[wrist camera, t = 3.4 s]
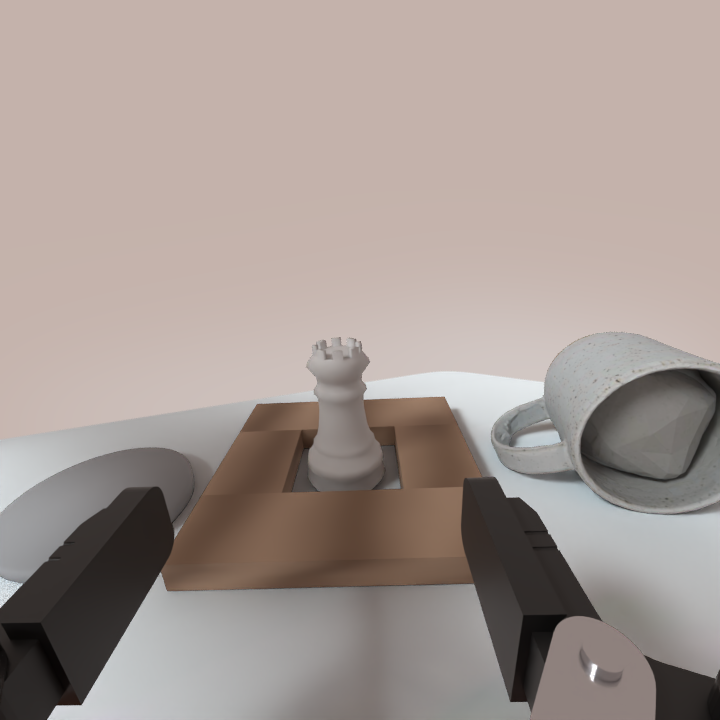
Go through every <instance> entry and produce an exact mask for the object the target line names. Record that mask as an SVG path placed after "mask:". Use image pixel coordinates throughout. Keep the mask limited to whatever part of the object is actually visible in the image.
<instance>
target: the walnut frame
mask: <svg viewBox="0 0 720 720" xmlns="http://www.w3.org/2000/svg"><path fill="white" fill-rule="evenodd" d="M364 409H365V414H366V419H367V424H368V426H369V429H370V430H371V431H372V432H373V433H374V437H375V439H376V440H377V441H378V442H379V443H380V446H383V445H395V450H396V457H397V464H398V472H399V479H400V486H401V489H383V490H352V491H321V492H292V488H293V485H294V481H295V477H296V474H297V470H298V467H299V463H300V459H301V456H302V452H303V449H304V448H311V447H312V445H313V443H314V438H315V436H316V435H317V432H318V427H319V402H299V403H273V404H257V405H256V407H255V408H254V410H253V412H252V413H251V415H250V416H249V418H248V420H247V421H246V423H245V425H244V426H243V428H242V430H241V431H240V433H239V435H238V436H237V438H236V439H235V441H234V443H233V444H232V446H231V448H230V449H229V451H228V453H227V454H226V456H225V458H224V459H223V461H222V462H221V464H220V466H219V467H218V469H217V471H216V472H215V474H214V476H213V477H212V479H211V481H210V482H209V484H208V485H207V487H206V489H205V490H204V492H203V494H202V495H201V497H200V499H199V500H198V502H197V504H196V505H195V507H194V508H193V510H192V512H191V513H190V515H189V517H188V518H187V520H186V522H185V523H184V525H183V527H182V528H181V530H180V531H179V533H178V535H177V536H176V538H175V540H174V544H173V548H172V552H171V554H170V556H169V558H168V560H167V562H166V563H165V565H164V567H163V568H162V570H161V573H162V576H163V579H164V583H165V586H166V589H167V591H186V590H226V589H266V588H306V587H346V586H385V585H425V584H465V583H474V581H473V578H472V574H471V571H470V568H469V564H468V561H467V558H466V555H465V551H464V547H463V542H462V535H461V514H462V497H463V483H464V479H465V478H478V477H482V476H481V473H480V471H479V469H478V467H477V465H476V463H475V461H474V459H473V456H472V454H471V452H470V450H469V448H468V446H467V444H466V441H465V439H464V437H463V435H462V433H461V431H460V429H459V427H458V424H457V422H456V420H455V418H454V416H453V414H452V412H451V410H450V407H449V405H448V403H447V401H446V399H445V397H426V398H400V399H375V400H364Z"/></svg>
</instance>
